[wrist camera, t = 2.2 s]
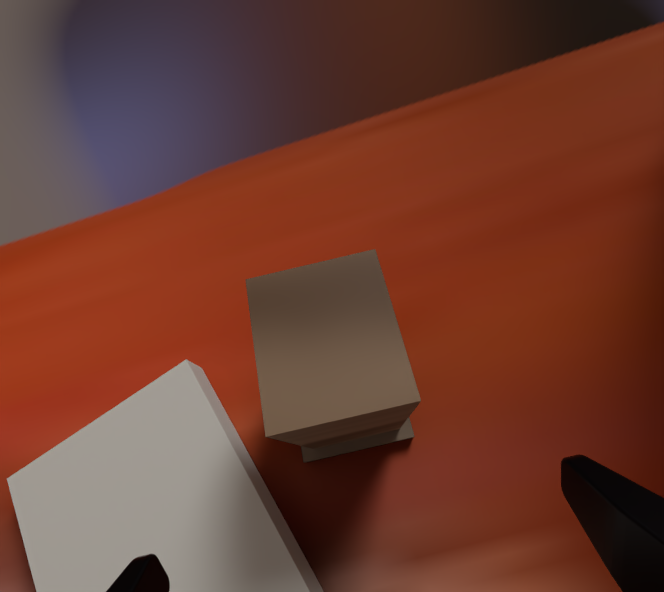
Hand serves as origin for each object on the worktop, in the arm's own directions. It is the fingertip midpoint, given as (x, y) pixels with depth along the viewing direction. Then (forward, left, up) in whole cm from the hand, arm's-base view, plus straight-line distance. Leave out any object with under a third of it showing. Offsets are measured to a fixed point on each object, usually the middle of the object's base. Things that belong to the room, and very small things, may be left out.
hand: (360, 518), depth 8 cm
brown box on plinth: (+4, -2, -11) cm, 12 cm away
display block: (+3, +9, -11) cm, 15 cm away
